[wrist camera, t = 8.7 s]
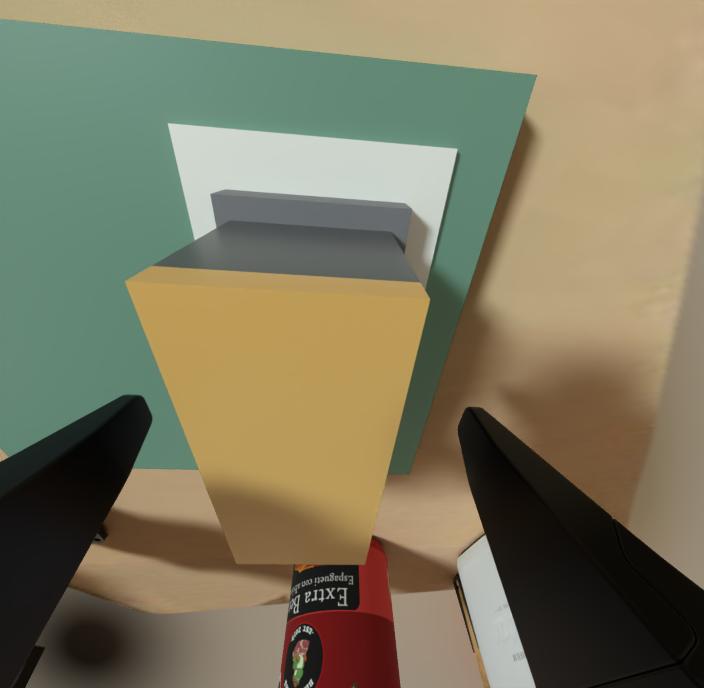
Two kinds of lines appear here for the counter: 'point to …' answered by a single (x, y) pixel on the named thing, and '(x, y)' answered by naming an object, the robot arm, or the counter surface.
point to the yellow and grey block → (287, 378)
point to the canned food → (341, 626)
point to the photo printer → (493, 619)
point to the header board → (218, 196)
